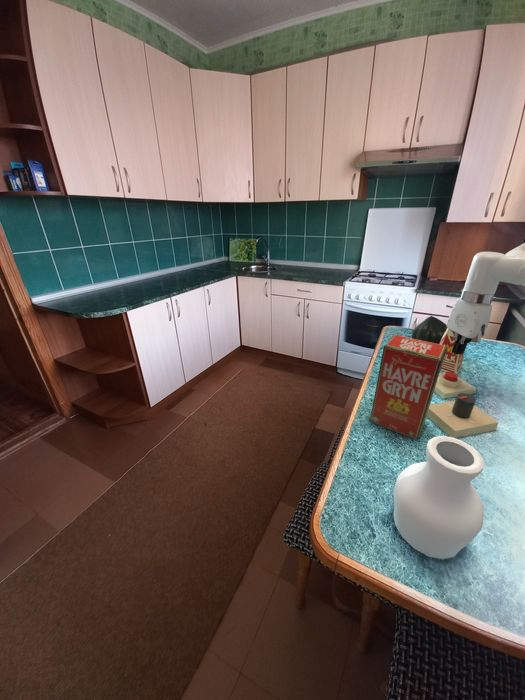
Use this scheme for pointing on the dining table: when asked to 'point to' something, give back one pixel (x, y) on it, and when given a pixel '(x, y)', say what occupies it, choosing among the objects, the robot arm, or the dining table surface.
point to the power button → (450, 376)
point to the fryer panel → (460, 420)
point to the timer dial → (463, 405)
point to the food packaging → (406, 384)
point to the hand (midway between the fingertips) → (457, 352)
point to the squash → (430, 330)
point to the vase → (440, 499)
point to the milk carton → (450, 354)
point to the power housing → (452, 387)
